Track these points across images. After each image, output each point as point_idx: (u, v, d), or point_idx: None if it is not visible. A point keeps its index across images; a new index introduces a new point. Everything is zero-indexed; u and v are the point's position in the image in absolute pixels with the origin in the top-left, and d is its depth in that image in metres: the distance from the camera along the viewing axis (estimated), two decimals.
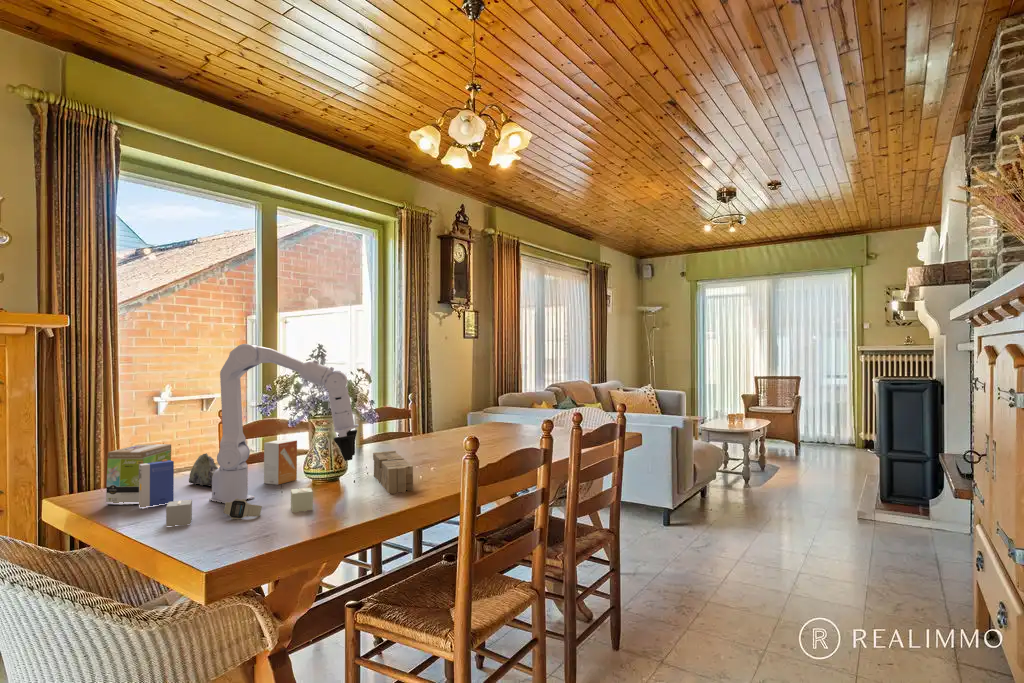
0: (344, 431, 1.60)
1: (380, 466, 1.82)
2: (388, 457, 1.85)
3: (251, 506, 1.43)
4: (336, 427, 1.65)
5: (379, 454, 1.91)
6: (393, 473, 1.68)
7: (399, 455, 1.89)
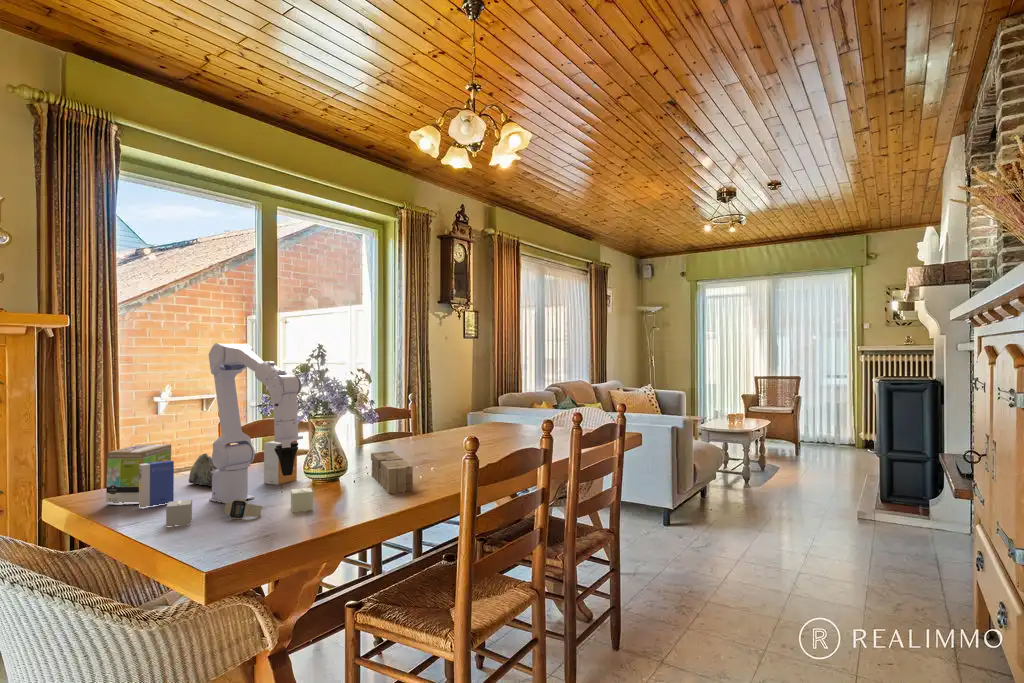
0: (289, 441, 1.43)
1: (379, 466, 1.82)
2: (387, 457, 1.85)
3: (251, 506, 1.43)
4: (278, 437, 1.47)
5: (377, 454, 1.91)
6: (393, 473, 1.68)
7: (397, 455, 1.89)
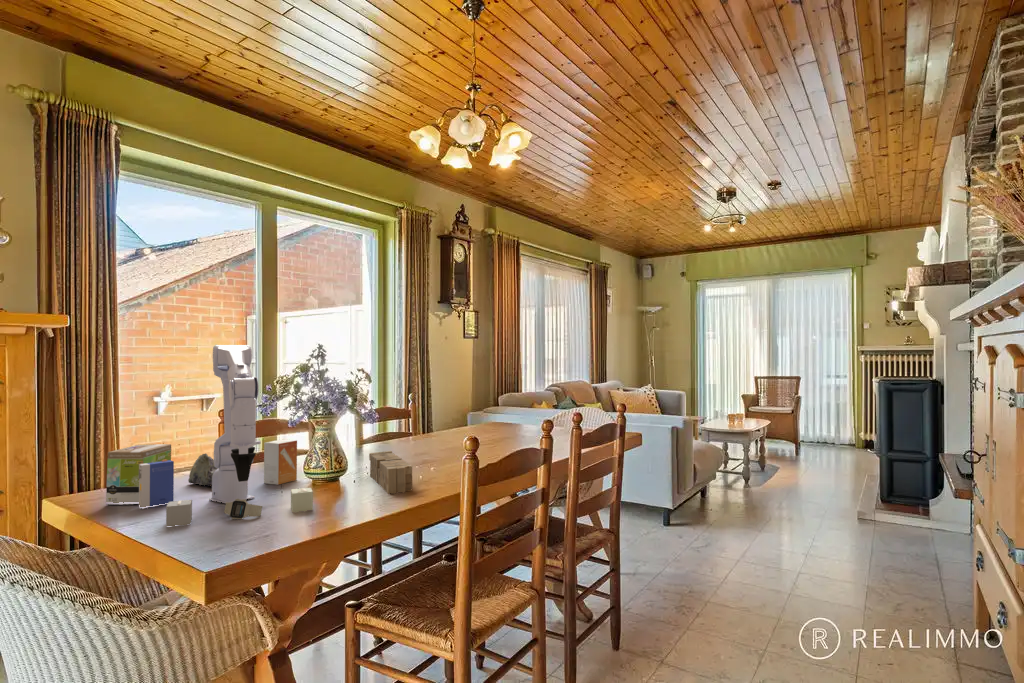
0: (246, 448, 1.39)
1: (378, 466, 1.82)
2: (385, 457, 1.85)
3: (252, 506, 1.43)
4: (234, 441, 1.43)
5: (376, 454, 1.91)
6: (393, 473, 1.68)
7: (396, 455, 1.89)
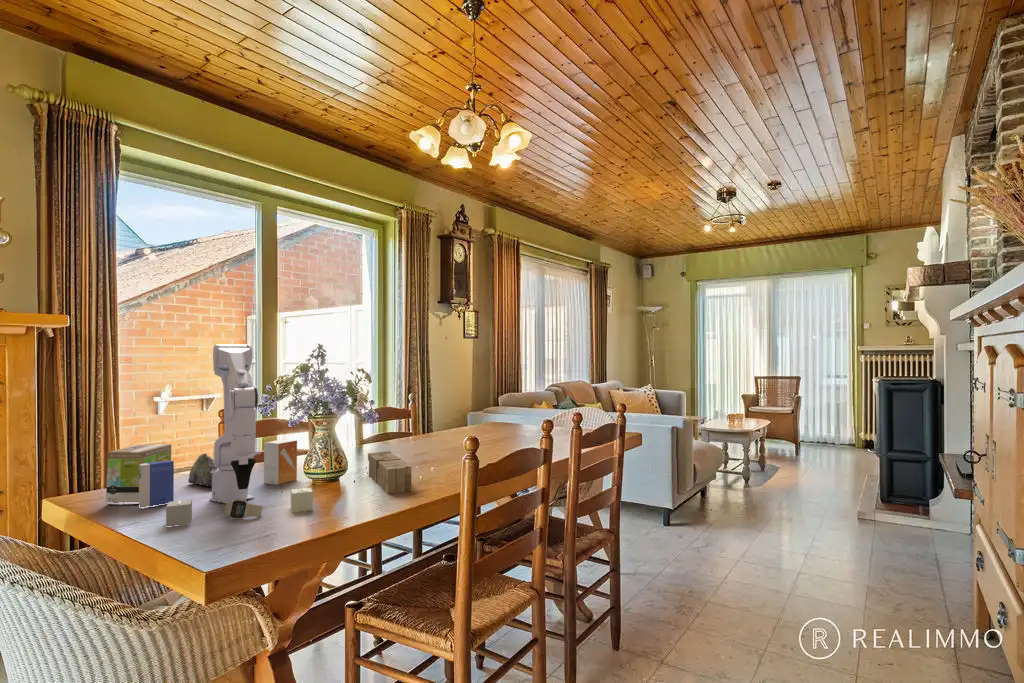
0: (246, 458, 1.39)
1: (377, 466, 1.82)
2: (384, 457, 1.85)
3: (252, 506, 1.43)
4: (234, 452, 1.43)
5: (374, 454, 1.91)
6: (392, 473, 1.68)
7: (395, 455, 1.89)
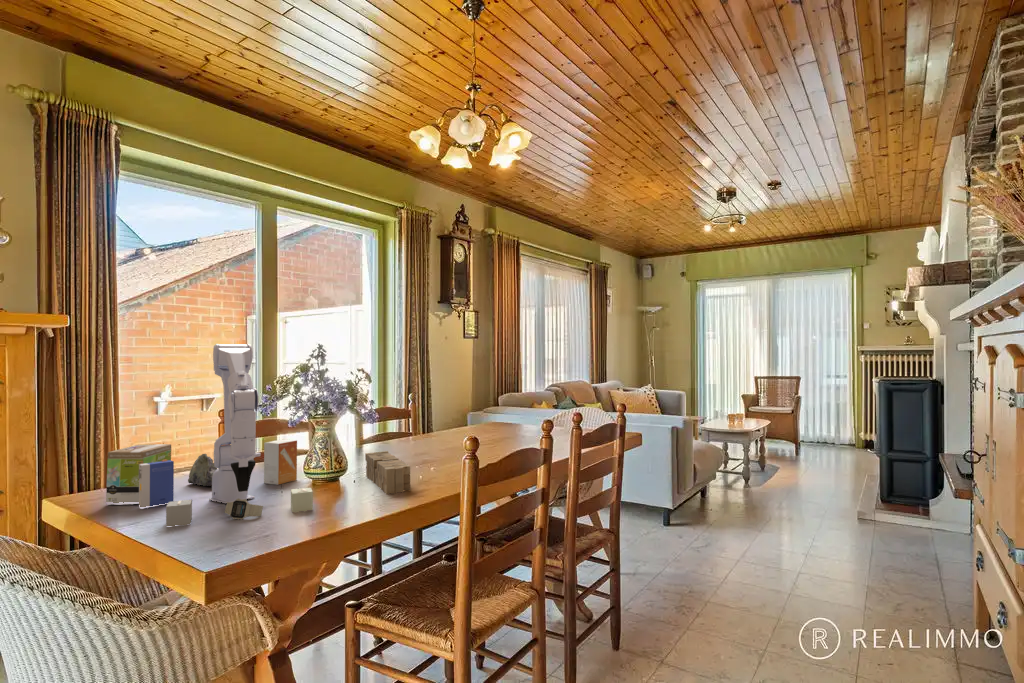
0: (246, 461, 1.39)
1: (375, 467, 1.82)
2: (382, 457, 1.85)
3: (252, 506, 1.43)
4: (234, 454, 1.43)
5: (372, 455, 1.90)
6: (391, 473, 1.68)
7: None
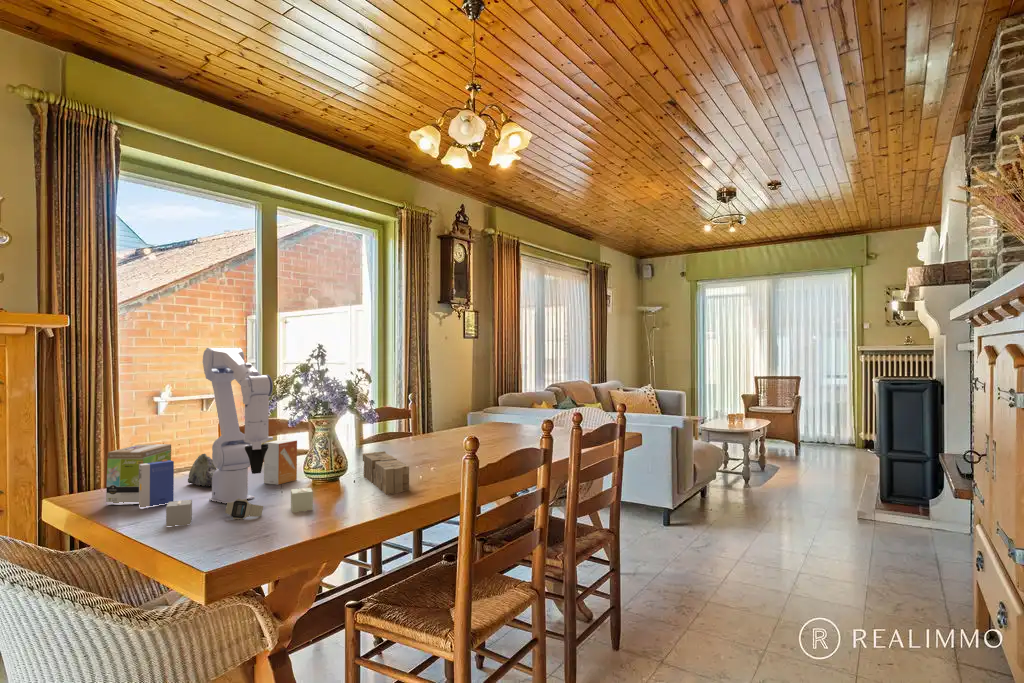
0: (259, 443, 1.44)
1: (373, 467, 1.81)
2: (380, 458, 1.84)
3: (253, 506, 1.43)
4: (248, 437, 1.48)
5: (369, 455, 1.90)
6: (390, 473, 1.67)
7: (390, 455, 1.88)
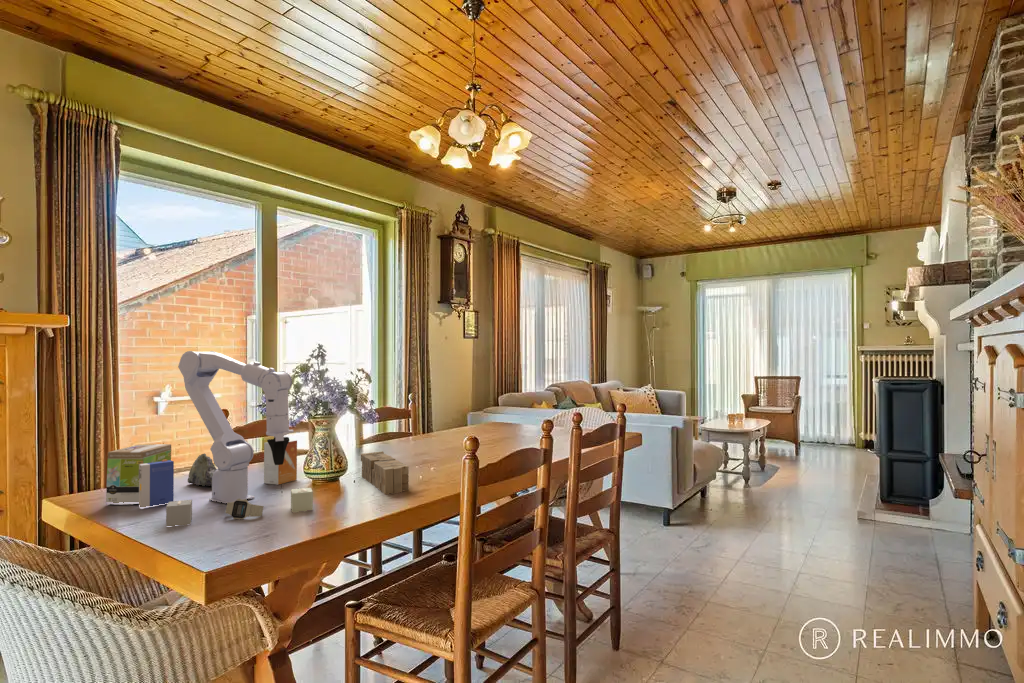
0: (282, 435, 1.53)
1: (371, 467, 1.81)
2: (379, 458, 1.84)
3: (253, 506, 1.43)
4: (270, 430, 1.56)
5: (368, 455, 1.90)
6: (390, 473, 1.67)
7: (389, 456, 1.88)
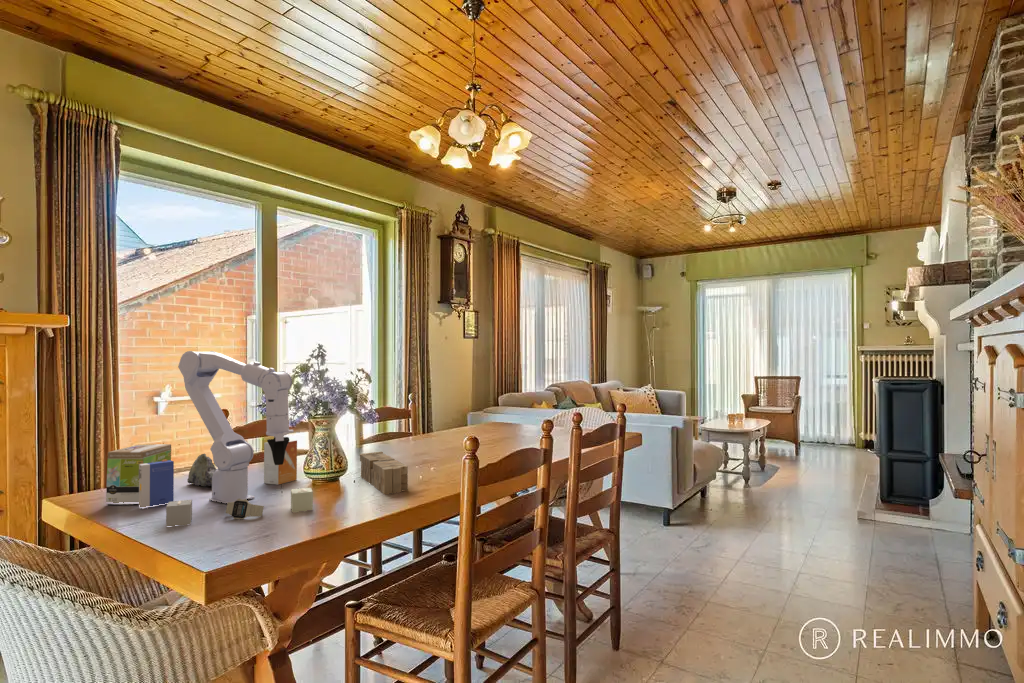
0: (282, 435, 1.53)
1: (370, 467, 1.81)
2: (378, 458, 1.84)
3: (253, 506, 1.43)
4: (270, 430, 1.56)
5: (367, 455, 1.89)
6: (389, 473, 1.67)
7: (388, 456, 1.88)
